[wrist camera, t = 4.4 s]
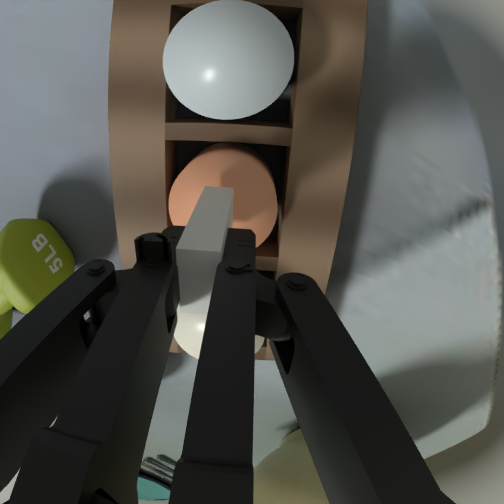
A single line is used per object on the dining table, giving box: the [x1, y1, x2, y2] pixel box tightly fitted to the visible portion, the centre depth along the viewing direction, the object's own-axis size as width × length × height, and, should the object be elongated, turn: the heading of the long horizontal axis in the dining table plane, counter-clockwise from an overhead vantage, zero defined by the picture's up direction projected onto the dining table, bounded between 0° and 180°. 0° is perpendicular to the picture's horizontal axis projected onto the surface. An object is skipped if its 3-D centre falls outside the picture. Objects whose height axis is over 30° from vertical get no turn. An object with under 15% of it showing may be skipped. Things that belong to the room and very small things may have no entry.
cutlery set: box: [137, 455, 176, 501], centre depth 48 cm, size 20×30×2 cm, turn 126°
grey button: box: [163, 0, 294, 120], centre depth 14 cm, size 6×6×4 cm
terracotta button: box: [169, 142, 278, 247], centre depth 19 cm, size 6×6×4 cm
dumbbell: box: [0, 219, 75, 339], centre depth 22 cm, size 16×8×7 cm, turn 119°
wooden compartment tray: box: [108, 0, 368, 361], centre depth 20 cm, size 26×14×3 cm, turn 176°
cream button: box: [174, 305, 264, 359], centre depth 22 cm, size 6×6×4 cm
